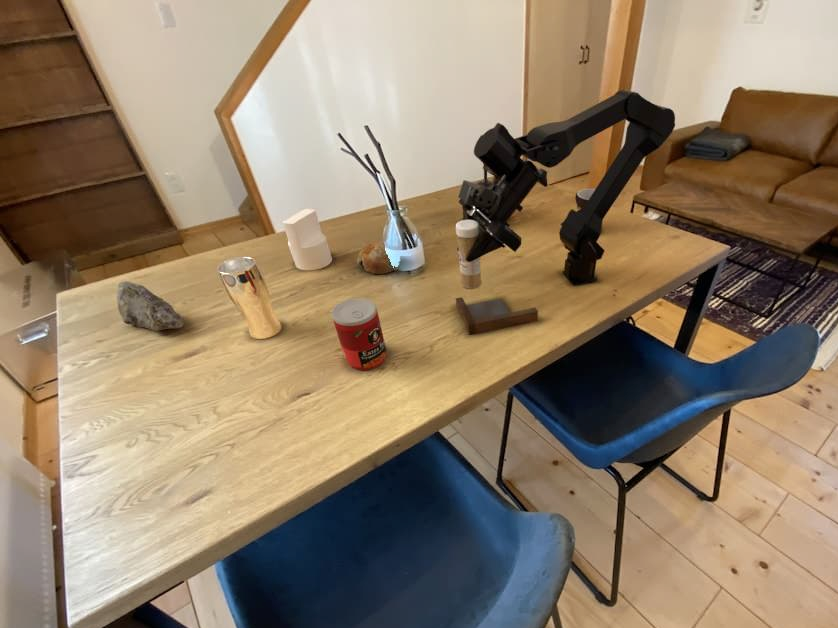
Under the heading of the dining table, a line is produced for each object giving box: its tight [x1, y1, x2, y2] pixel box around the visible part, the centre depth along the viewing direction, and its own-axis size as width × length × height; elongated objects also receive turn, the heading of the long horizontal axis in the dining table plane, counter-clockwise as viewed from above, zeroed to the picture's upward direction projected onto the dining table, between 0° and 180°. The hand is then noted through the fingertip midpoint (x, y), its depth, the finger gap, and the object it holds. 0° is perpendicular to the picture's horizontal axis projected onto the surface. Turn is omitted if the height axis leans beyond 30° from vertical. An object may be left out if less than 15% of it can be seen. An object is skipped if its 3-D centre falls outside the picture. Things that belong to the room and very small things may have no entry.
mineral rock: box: [116, 280, 184, 332], centre depth 88 cm, size 13×11×10 cm
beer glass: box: [216, 256, 282, 340], centre depth 85 cm, size 7×7×15 cm
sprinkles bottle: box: [455, 219, 483, 290], centre depth 89 cm, size 5×5×14 cm
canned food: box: [331, 297, 387, 371], centre depth 80 cm, size 8×8×11 cm
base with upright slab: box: [282, 208, 333, 271], centre depth 108 cm, size 9×9×12 cm
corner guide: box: [455, 296, 539, 336], centre depth 93 cm, size 15×10×2 cm
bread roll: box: [356, 240, 399, 275], centre depth 109 cm, size 10×10×8 cm
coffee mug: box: [575, 188, 596, 212], centre depth 123 cm, size 12×9×10 cm
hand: (463, 255), depth 88 cm, fingers closed on sprinkles bottle, 4 cm apart
